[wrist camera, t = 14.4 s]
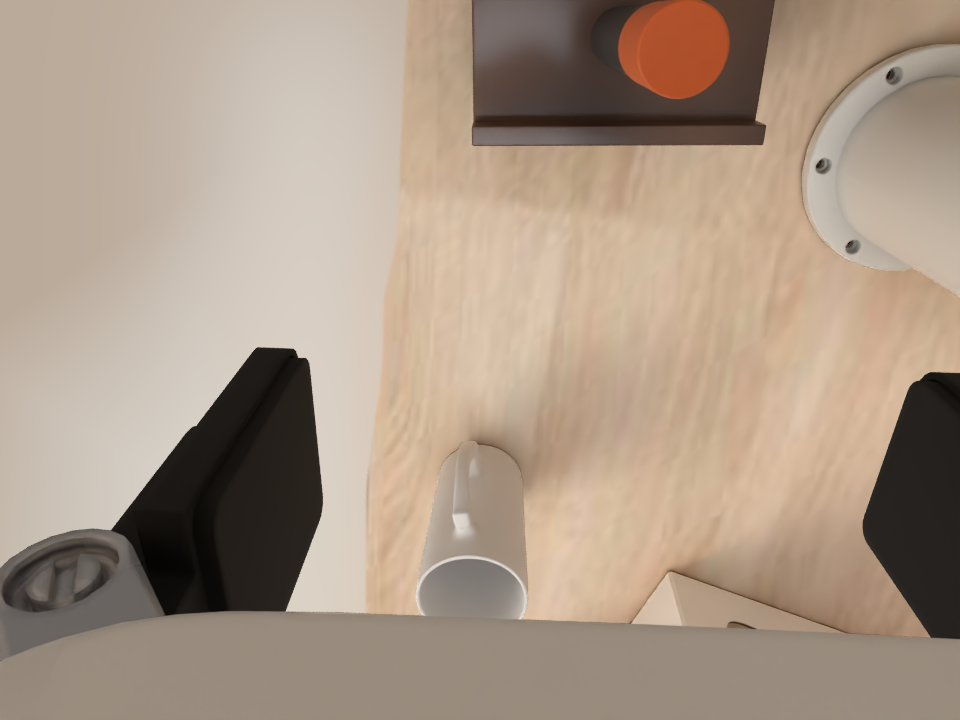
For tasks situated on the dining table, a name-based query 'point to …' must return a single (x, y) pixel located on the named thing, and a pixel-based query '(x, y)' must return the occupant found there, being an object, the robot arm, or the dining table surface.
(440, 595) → the mug
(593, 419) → the dining table surface
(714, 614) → the gable box
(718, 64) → the marker
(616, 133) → the shelf
